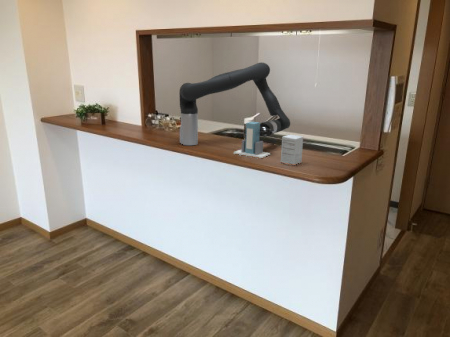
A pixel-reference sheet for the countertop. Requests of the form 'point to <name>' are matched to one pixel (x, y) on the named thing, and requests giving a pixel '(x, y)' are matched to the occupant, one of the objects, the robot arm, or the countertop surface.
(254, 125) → the book
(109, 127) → the countertop surface
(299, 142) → the supplement box
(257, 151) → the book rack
